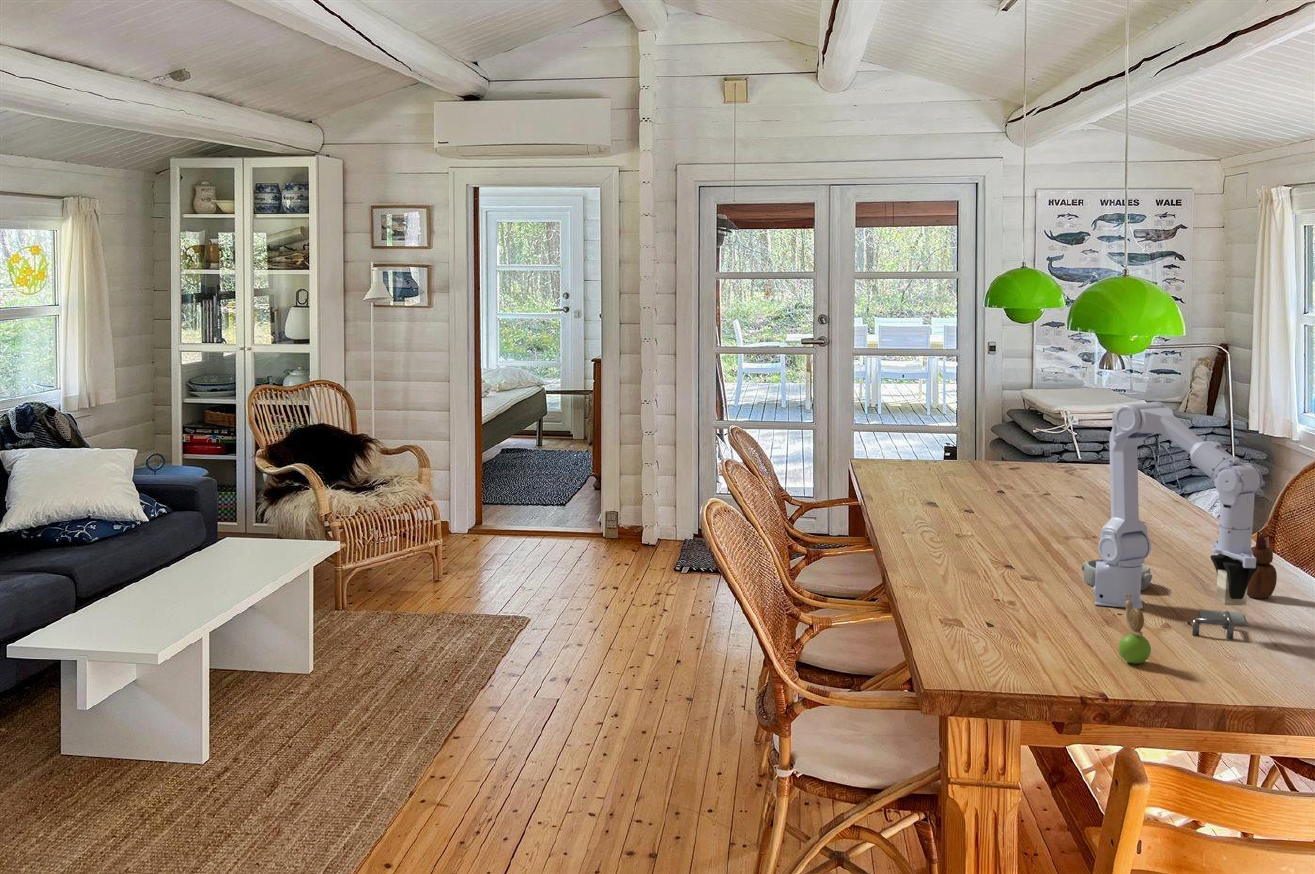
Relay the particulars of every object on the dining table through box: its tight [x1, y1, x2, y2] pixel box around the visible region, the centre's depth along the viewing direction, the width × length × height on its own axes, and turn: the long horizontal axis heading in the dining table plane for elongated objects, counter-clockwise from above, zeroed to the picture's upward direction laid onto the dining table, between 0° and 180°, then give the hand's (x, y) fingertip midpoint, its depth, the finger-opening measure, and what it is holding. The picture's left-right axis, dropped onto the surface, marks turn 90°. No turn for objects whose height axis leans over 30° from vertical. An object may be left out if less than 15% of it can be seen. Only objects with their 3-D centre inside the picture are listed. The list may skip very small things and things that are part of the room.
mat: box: [1198, 608, 1247, 627], centre depth 228 cm, size 8×8×1 cm
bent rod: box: [1191, 610, 1235, 640], centre depth 219 cm, size 7×8×4 cm
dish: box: [1081, 558, 1153, 591], centre depth 255 cm, size 14×14×5 cm
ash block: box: [1215, 570, 1248, 606], centre depth 215 cm, size 4×4×6 cm
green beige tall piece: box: [1118, 594, 1152, 665], centre depth 202 cm, size 5×6×12 cm
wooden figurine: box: [1247, 530, 1278, 600], centre depth 242 cm, size 7×6×15 cm
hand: (1231, 595), depth 215 cm, fingers closed on ash block, 4 cm apart
